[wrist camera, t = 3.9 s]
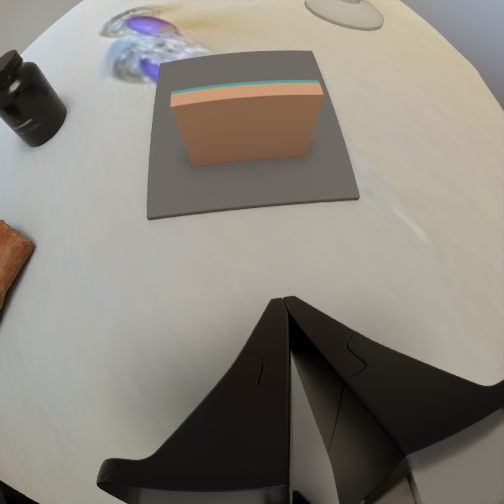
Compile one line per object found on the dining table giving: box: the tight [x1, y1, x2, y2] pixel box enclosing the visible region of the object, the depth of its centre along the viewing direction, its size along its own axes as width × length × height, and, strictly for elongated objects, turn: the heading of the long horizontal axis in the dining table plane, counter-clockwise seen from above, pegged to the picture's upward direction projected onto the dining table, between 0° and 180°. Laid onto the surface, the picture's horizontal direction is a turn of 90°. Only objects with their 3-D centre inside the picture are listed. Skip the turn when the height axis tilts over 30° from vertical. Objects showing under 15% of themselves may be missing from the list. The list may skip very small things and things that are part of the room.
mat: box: [147, 51, 360, 220], centre depth 26 cm, size 20×18×1 cm
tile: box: [170, 80, 324, 167], centre depth 21 cm, size 2×10×8 cm, turn 96°
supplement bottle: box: [0, 50, 66, 146], centre depth 22 cm, size 7×7×12 cm
